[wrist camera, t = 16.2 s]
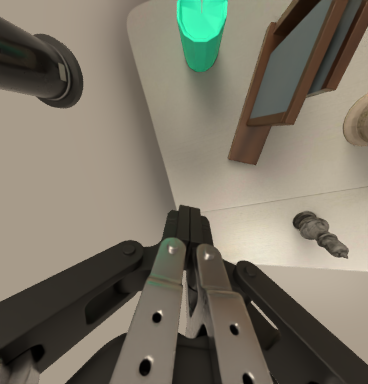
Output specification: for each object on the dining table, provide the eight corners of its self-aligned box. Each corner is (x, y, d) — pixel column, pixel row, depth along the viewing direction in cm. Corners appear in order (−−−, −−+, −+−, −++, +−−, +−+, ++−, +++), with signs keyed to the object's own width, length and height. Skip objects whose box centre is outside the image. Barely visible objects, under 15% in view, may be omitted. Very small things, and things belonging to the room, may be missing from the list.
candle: (188, 76, 29) (182, 44, 18) (180, 37, 27) (167, -28, 16) (220, 66, 28) (234, 24, 17) (214, 23, 26) (226, -57, 15)
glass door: (246, 125, 29) (283, 122, 16) (269, 53, 25) (348, -33, 12) (252, 126, 29) (294, 125, 16) (276, 54, 25) (363, -30, 12)
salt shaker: (296, 209, 37) (337, 243, 26) (321, 211, 37) (374, 247, 25) (288, 229, 39) (323, 268, 28) (312, 231, 39) (357, 272, 28)
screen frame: (227, 158, 34) (252, 184, 18) (267, 27, 25) (387, -152, 9) (253, 163, 34) (303, 195, 18) (303, 34, 25) (487, -134, 9)
